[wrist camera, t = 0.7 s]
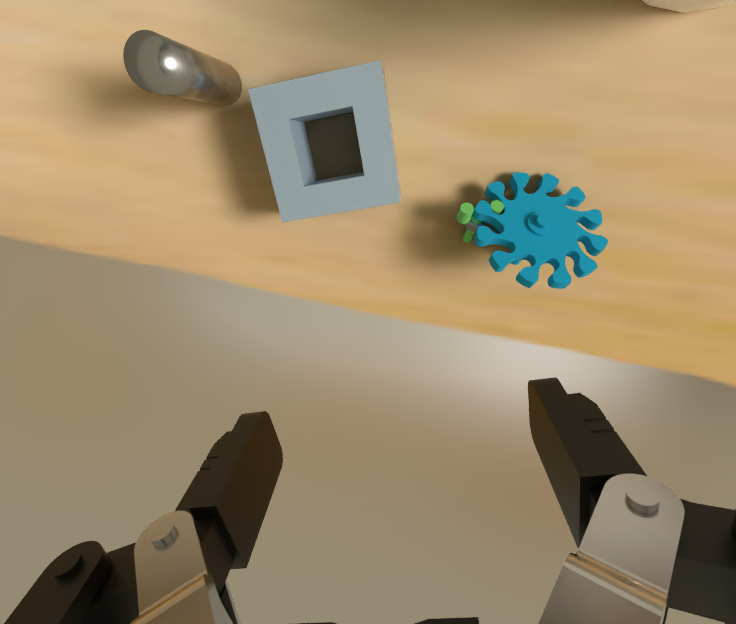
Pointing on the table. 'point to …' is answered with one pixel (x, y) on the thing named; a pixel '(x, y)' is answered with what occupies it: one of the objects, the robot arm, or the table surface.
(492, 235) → the teal lobed toy
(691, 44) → the table surface
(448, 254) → the table surface
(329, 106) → the socket block
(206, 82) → the pin
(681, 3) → the canister
